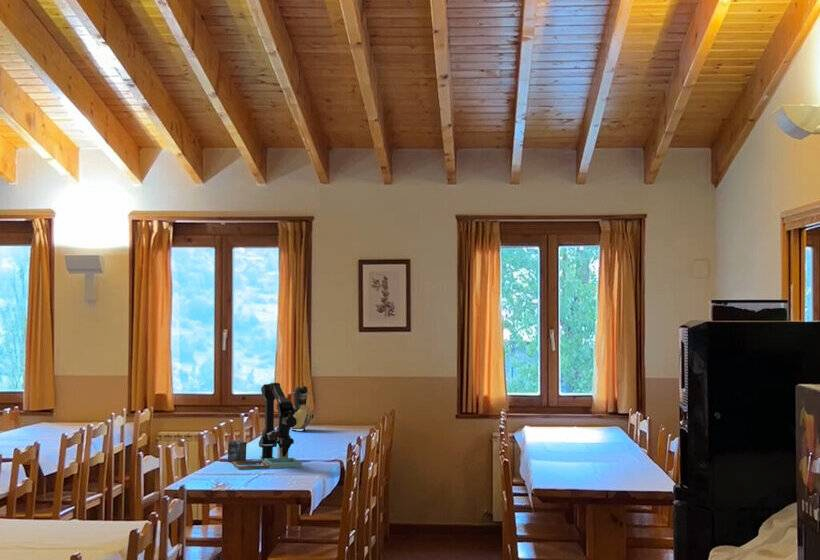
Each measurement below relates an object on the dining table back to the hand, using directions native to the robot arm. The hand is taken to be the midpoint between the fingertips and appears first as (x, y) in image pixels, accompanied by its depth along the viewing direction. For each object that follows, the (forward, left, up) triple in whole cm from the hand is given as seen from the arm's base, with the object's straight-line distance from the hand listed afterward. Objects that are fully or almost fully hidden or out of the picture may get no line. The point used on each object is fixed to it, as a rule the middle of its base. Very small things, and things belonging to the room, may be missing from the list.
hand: (282, 455), depth 447 cm
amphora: (-135, +46, -5) cm, 143 cm away
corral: (0, -16, -5) cm, 17 cm away
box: (-15, -20, -5) cm, 26 cm away
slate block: (0, 0, -1) cm, 1 cm away
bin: (0, 0, -5) cm, 5 cm away
